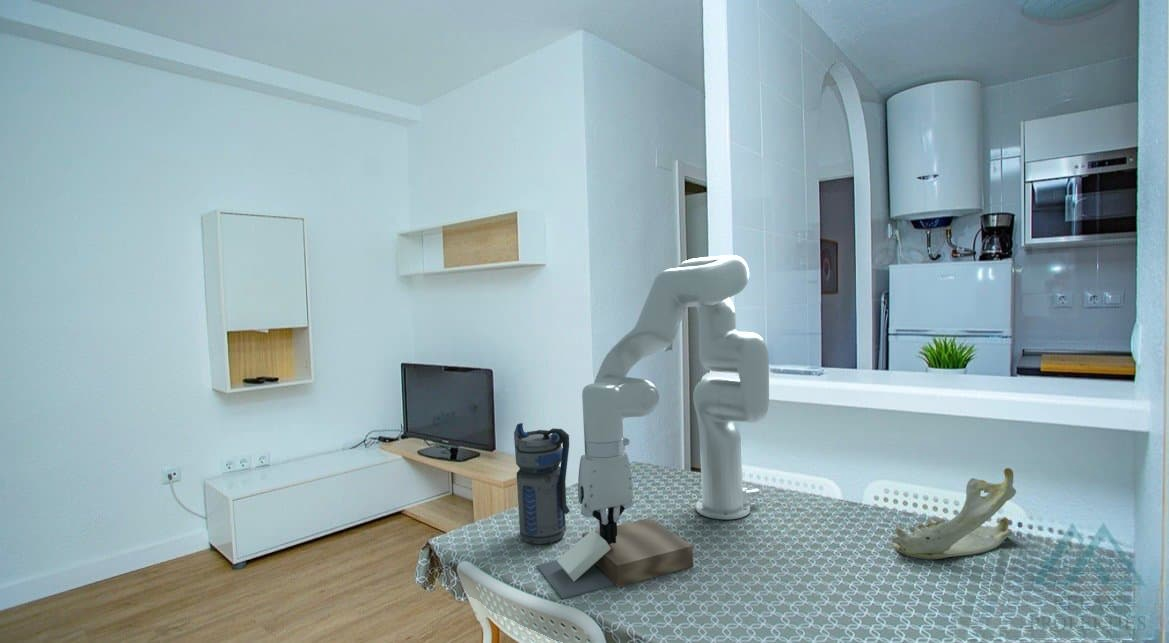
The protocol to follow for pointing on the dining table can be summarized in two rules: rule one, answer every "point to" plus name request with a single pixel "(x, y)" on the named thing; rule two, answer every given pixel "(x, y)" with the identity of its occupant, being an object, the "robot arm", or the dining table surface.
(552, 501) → the beverage bottle
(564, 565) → the pale grey flat tile
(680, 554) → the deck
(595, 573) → the mat
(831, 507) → the dining table surface
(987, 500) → the jawbone
